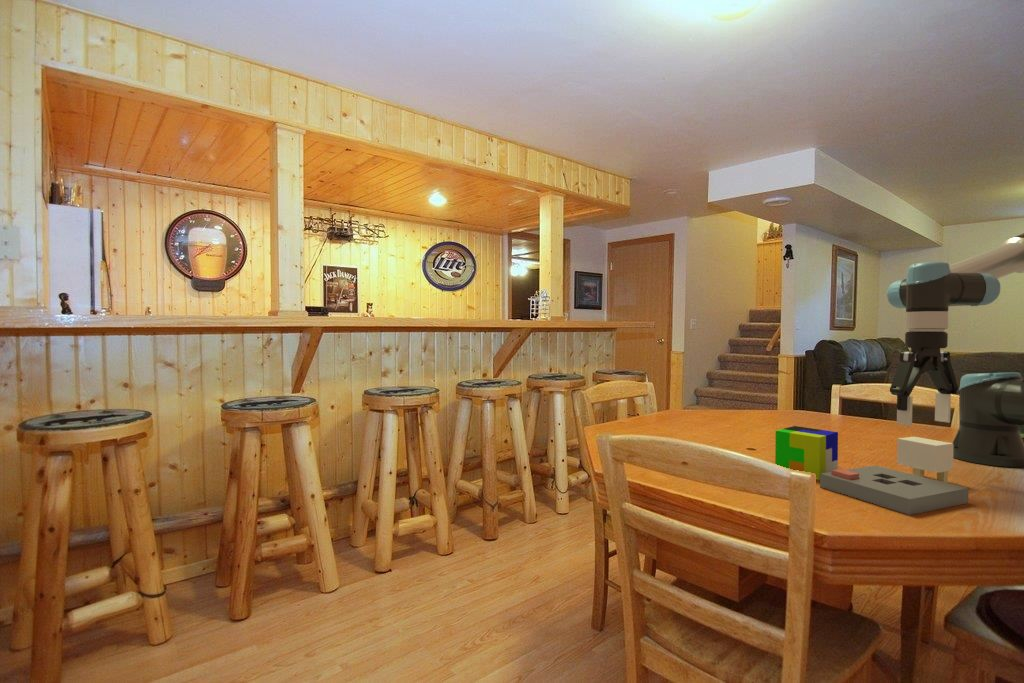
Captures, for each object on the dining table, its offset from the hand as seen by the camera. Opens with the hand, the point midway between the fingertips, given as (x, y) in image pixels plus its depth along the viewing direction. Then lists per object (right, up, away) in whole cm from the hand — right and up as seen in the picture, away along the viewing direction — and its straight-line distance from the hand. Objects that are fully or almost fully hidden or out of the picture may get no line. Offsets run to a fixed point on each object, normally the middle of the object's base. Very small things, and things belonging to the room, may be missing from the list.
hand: (923, 423), depth 115 cm
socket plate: (-15, -13, -10) cm, 22 cm away
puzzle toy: (-23, -13, +8) cm, 27 cm away
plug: (0, -13, 0) cm, 13 cm away
